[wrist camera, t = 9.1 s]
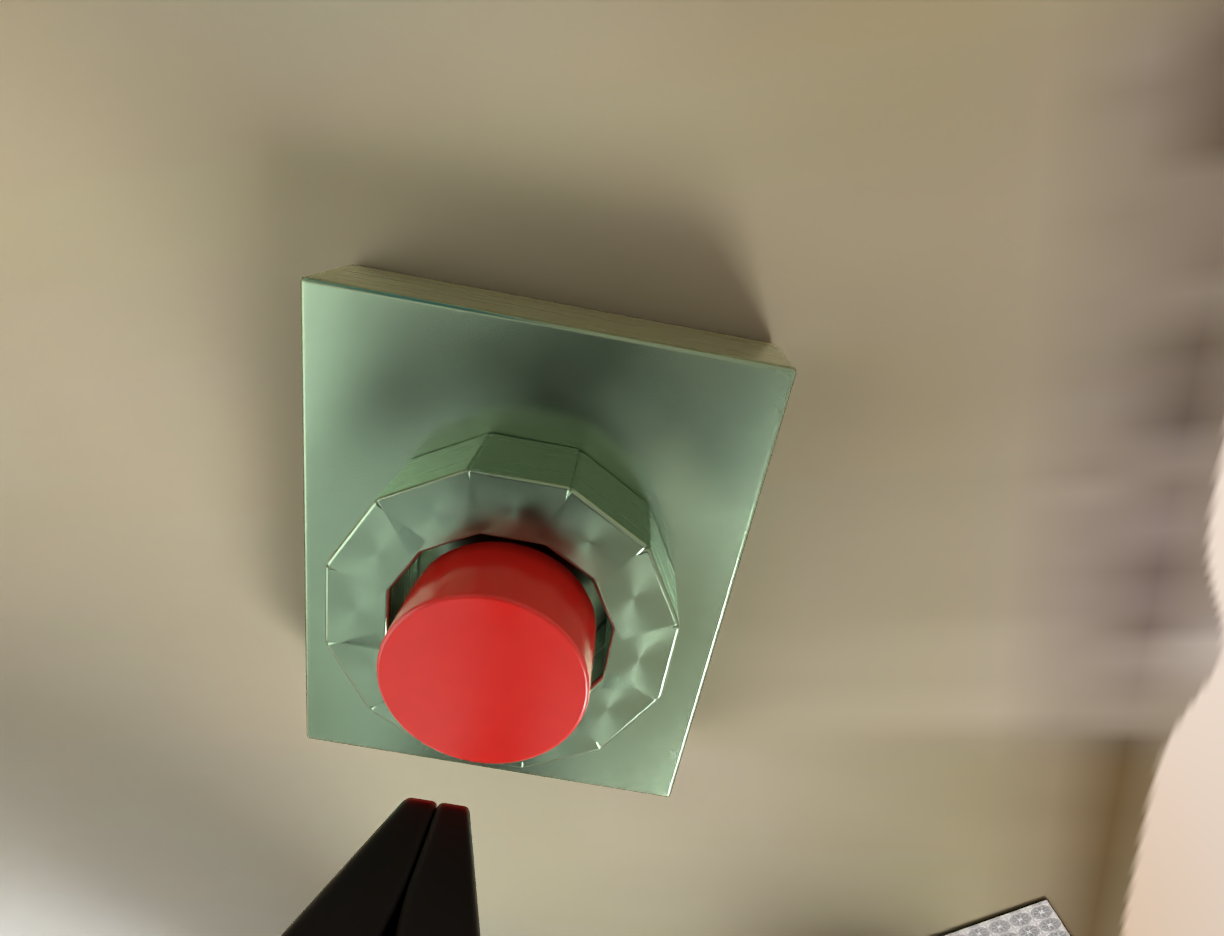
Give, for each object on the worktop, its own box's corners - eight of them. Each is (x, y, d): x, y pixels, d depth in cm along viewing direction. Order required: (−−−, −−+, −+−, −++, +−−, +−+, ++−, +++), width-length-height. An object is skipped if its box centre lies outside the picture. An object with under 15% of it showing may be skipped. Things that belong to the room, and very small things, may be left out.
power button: (580, 708, 13) (572, 780, 12) (404, 679, 13) (371, 747, 11) (611, 558, 12) (606, 616, 10) (414, 523, 12) (378, 576, 10)
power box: (666, 730, 18) (673, 868, 14) (343, 676, 18) (265, 803, 14) (775, 342, 14) (825, 399, 10) (349, 263, 13) (240, 290, 10)
